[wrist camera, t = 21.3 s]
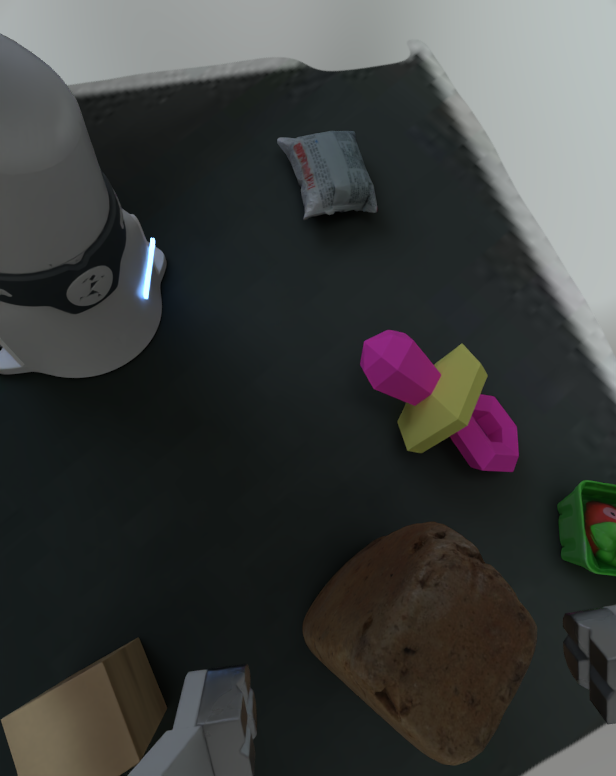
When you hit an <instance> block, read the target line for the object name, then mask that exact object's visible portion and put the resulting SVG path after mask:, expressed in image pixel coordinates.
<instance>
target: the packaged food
mask: <svg viewBox="0 0 616 776" xmlns="http://www.w3.org/2000/svg"><path fill="white" fill-rule="evenodd" d="M277 143H278V145H279V146H280V147H281V149H282V150H283V151H284V152H285V153H286V155H287V157H288V159H289V160H290V162H291V165H292V167H293V170H294V173H295V175H296V177H297V180H298V183H299V185H300V186H301V196H302V200H303V204H304V208H305V214H304V220H307V219H308V218H309V217H312V216H319V215H322V214H328V215H331V214H334V212H339V211H340V212H346V211H350V210H355V211H359V210H362V211H363V212H365V211H368V212H369V211H370V212H373V213H375V212H377V211H378V207H377V201H376V195H375V190H374V186H373V183H372V181H371V179H370V177H369V175H368V173H367V170H366V168H365V165H364V163H363V159H362V156H361V153H360V151H359V148H358V145H357V142H356V135H355V132H354V131H328V132H324V133H316V134H312V135H306V136H302V137H297V138H296V139H293V138H283V137H280V138H278V140H277Z"/></svg>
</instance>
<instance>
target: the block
mask: <svg viewBox="0 0 616 776" xmlns="http://www.w3.org/2000/svg"><path fill="white" fill-rule="evenodd" d="M302 629H303V636H304V639H305V642H306V644H307V646H308V648H309V649H310V650H311V652H312V653H313V654H314V655H315V656H316V657H317V658H318V659H319V660H320V661H321V662H322V663H323V664H324V665H325V666H326V667H327V668H328V669H329V670H330V671H331V672H333V673H334V674H335V675H336V676H337V677H338V678H339V679H340V680H342V681H343V682H344V683H345V684H346V685H347V686H348V687H349V688H350V689H351V690H352V691H353V692H354V693H356V694H357V695H358V696H359V697H360V698H361V699H362V700H363V701H364V702H365V703H366V704H368V705H369V706H370V707H371V708H372V709H373V710H374V711H375V712H376V713H377V714H379V715H380V716H381V717H382V718H383V719H384V720H385V721H387V722H388V723H389V724H390V725H391V726H392V727H393V728H394V729H395V730H396V731H398V732H399V733H400V734H401V735H402V736H403V737H404V738H405V739H407V740H408V741H409V742H410V743H411V744H412V745H414V746H415V747H416V748H417V749H418V750H420V751H421V752H423V753H424V754H425V755H427V756H428V757H430V758H432V759H434V760H436V761H438V762H440V763H442V764H446V765H458V764H462V763H465V762H468V761H469V760H471V759H472V758H474V757H475V756H477V755H478V754H479V753H481V752H482V751H483V750H484V748H485V747H486V745H487V744H488V742H489V741H490V739H491V738H492V736H493V734H494V733H495V731H496V730H497V728H498V726H499V724H500V721H501V719H502V717H503V714H504V712H505V710H506V709H507V707H508V705H509V704H510V702H511V700H512V699H513V697H514V695H515V694H516V692H517V690H518V688H519V686H520V684H521V682H522V680H523V677H524V675H525V673H526V671H527V669H528V667H529V665H530V662H531V659H532V657H533V654H534V651H535V647H536V642H537V626H536V623H535V622H534V620H533V618H532V617H531V615H530V613H529V612H528V611H527V609H526V608H525V607H524V606H523V605H522V604H521V603H520V602H519V600H518V598H517V596H516V594H515V592H514V591H513V589H512V588H511V587H510V585H509V584H508V583H507V582H506V581H505V580H504V578H503V577H502V576H501V574H500V573H499V572H498V571H497V570H496V569H494V568H493V567H492V566H491V565H489V564H485V562H484V560H483V559H482V557H481V555H480V552H479V550H478V549H477V548H476V547H475V546H474V545H473V544H472V543H471V542H470V541H468V540H467V539H466V538H464V537H463V536H462V535H461V534H459V533H458V532H456V531H455V530H453V529H451V528H449V527H447V526H446V525H444V524H439V523H436V522H426V523H422V524H412V525H409V526H406V527H403V528H401V529H399V530H397V531H395V532H393V533H391V534H389V535H388V536H383V537H380V538H378V539H376V540H374V541H372V542H371V543H370V544H368V545H367V546H366V547H365V548H363V549H362V550H361V551H360V552H359V553H357V554H356V555H355V556H354V557H353V558H351V559H350V560H349V561H348V562H347V563H346V564H345V565H344V566H343V567H342V568H341V569H340V570H339V571H338V572H337V573H336V574H335V575H334V576H333V577H332V578H331V579H330V580H329V582H328V583H327V584H326V585H325V587H324V588H323V589H322V590H321V592H320V593H319V595H318V596H317V597H316V599H315V600H314V602H313V603H312V605H311V607H310V608H309V610H308V612H307V614H306V616H305V618H304V621H303V628H302Z"/></svg>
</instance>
